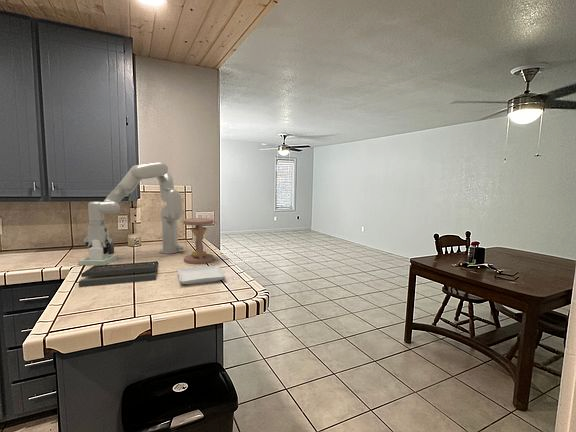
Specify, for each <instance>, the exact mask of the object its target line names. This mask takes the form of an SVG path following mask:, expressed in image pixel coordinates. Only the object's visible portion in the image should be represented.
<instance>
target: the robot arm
mask: <svg viewBox="0 0 576 432" xmlns="http://www.w3.org/2000/svg"><path fill="white" fill-rule="evenodd" d="M154 178H156V179H157V180H158V184H159V194H160V199H161V201H162V202H164V203H166V205H164V206H163V207H162V208H161V210H160V216H161V225H162V226H161V229H162V230H161V231H162V248H161V249H160V251H159V252H160V253H161V254H166V255H167V254H177V253H179V252H181V250H185V247H184V246H183V245H181V246H180V244H179V242H178V241H179V238H178V235H179V234H178V233H179V232H178V221H179V220H180V219H182V217H183V213H184V212H183V210H184V209H183V202H182V201H183V200H182V195H181V193H180V192H179V191H178V190H177V189H175V186H174V180H173V177H172V175H171V173H170V172H169V167H168V165H167V164H166V163H165V162H161V161H160V162H151V163H148V164H147V163H145V164H136V165H133V166H131V168H130V169H129V170H128V171H127V173H126V174H125V175H124V177H123V178H122V179H121V180H120V182H119V183H118V184H117V185H116V186H115V188H113V189H112V190H111V192H110V193H109V194H108V195H107V196H106V197H105V199H104V200H103V201H89V202H88V204H87V207H88V208H87V210H88V224H89V225H88V226H87V234H86V235H87V236H86V237H85V238H84V239H82V241H83V242H84V244H85V245H87V248H88V249H89V248H91V247H93V246H92V240H99V241H100V243H102V244H103V246H104V247H103V252H104V254H106V253H108V246H109V245H110V244H111V242H113V238H111V237H110V235H109V231H108V230H109V229H108V226H107V223H108V222H107V221H106V219H105V214H106V215H115V214H117V213H119V212H120V210H121V205H120V203H121V201H122V200H123V199H124V198H125V197H126V196H128V195H130V194H131V193H133V191H135V190H136V188H137V186H138V185H139V184H140V183H141V182H142V180H146V179H147V180H148V179H154ZM107 241H109V242H108V243H107Z"/></svg>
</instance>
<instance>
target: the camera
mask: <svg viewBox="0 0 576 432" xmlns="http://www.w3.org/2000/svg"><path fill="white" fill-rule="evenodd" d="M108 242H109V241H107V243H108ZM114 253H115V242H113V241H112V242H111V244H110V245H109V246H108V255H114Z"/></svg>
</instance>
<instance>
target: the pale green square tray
mask: <svg viewBox="0 0 576 432" xmlns="http://www.w3.org/2000/svg"><path fill="white" fill-rule="evenodd" d="M116 260H118V255H117V254H108V258H106V259H104V260H89V256H87V257H84V258H81V259H80V260H78V261H77V263H78V264H77V265H78V266H98V265H109V264H110V263H112V262H114V261H116Z"/></svg>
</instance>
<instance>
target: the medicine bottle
mask: <svg viewBox="0 0 576 432" xmlns="http://www.w3.org/2000/svg"><path fill="white" fill-rule="evenodd" d="M92 246H93V247H91V248H89V247H88V257H89V260H104V259H106V258H108V255H109V254H108V253H106V254H104V252H103V247H104V246H103V244H102V243H100V241H99V240H92Z"/></svg>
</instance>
